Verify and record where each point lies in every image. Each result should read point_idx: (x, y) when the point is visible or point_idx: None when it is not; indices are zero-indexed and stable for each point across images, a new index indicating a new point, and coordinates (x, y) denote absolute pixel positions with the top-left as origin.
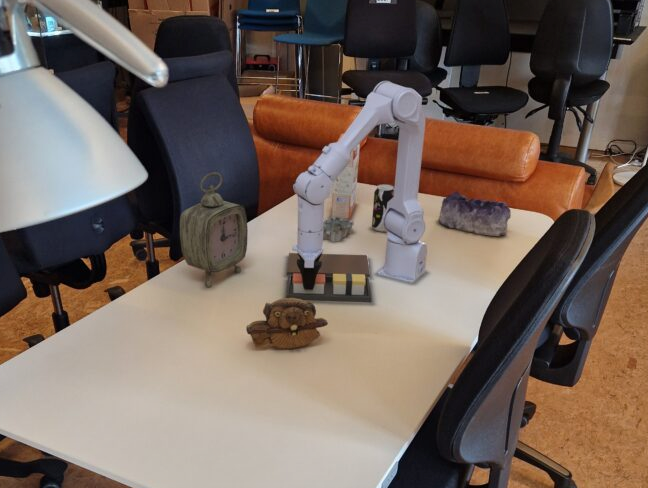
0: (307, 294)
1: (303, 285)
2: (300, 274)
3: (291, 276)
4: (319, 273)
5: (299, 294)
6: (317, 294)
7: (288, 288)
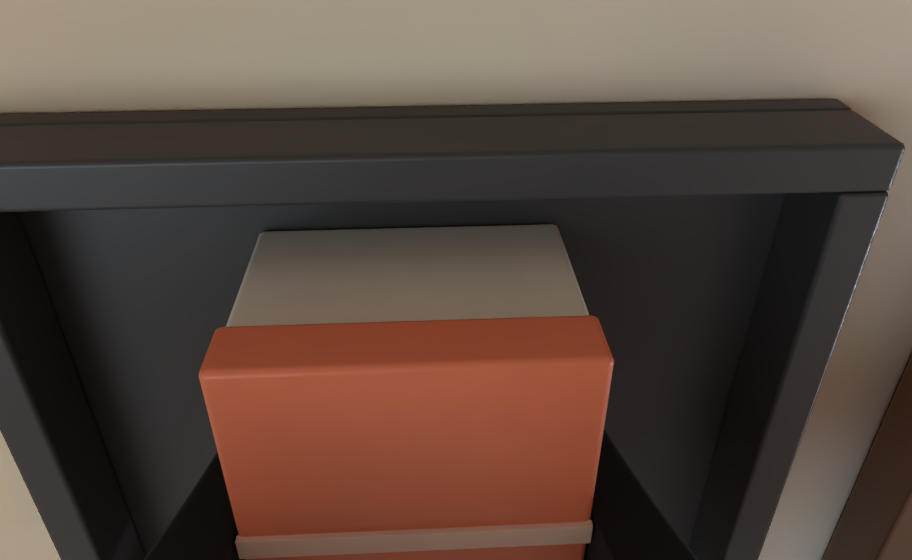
0: None
1: (195, 487)
2: (540, 484)
3: (827, 202)
4: (883, 528)
5: (9, 383)
6: None
7: (212, 191)
